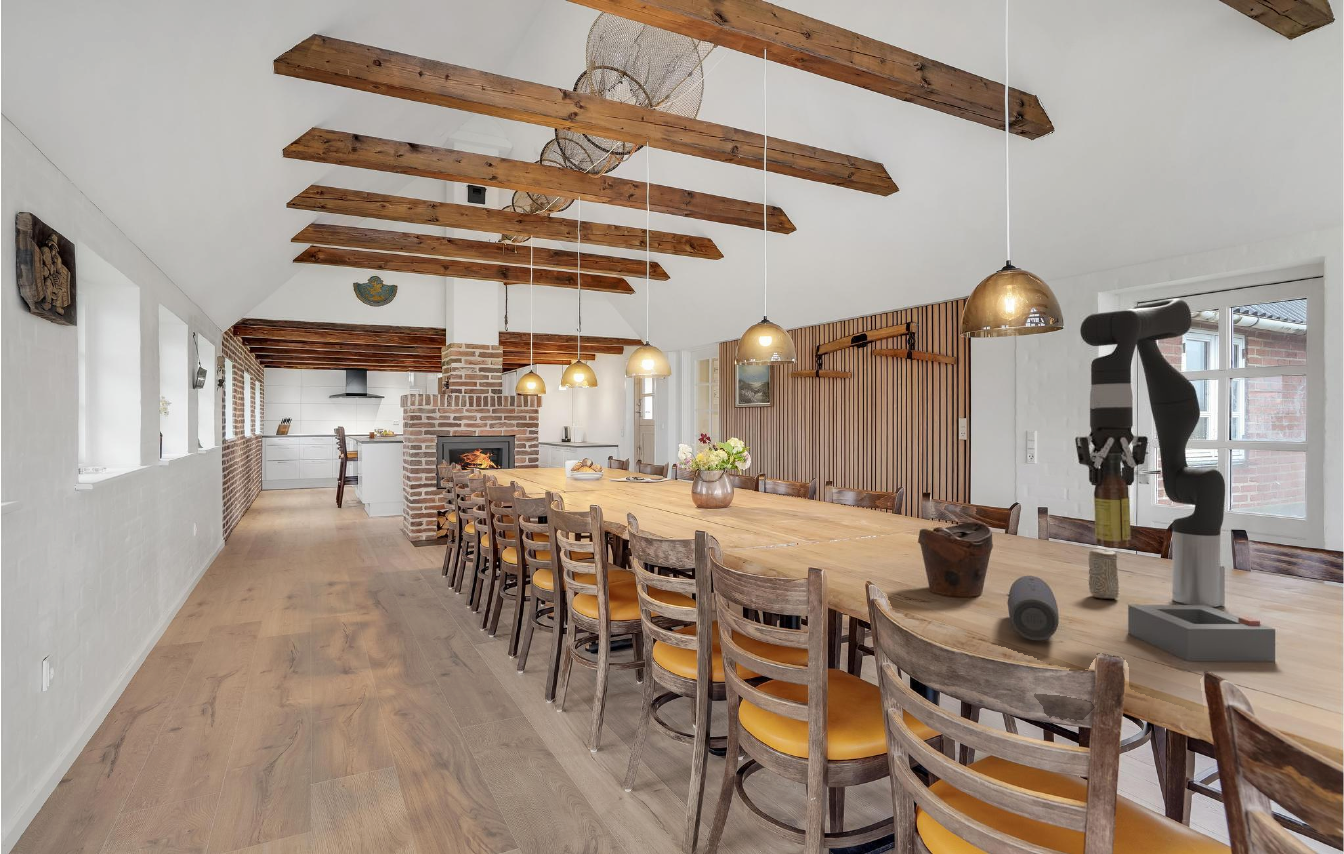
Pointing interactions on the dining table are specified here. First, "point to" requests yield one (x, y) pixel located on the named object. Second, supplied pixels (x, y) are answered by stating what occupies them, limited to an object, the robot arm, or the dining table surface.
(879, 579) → the dining table surface
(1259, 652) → the bottle socket block
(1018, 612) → the bluetooth speaker
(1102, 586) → the carving
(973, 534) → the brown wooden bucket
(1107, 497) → the sauce bottle
